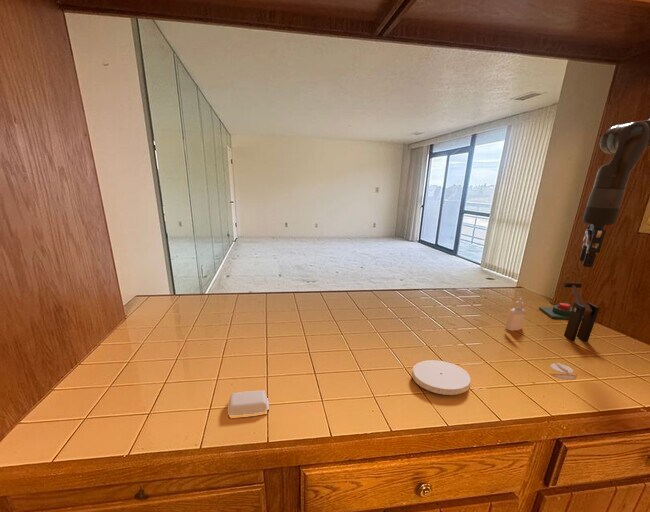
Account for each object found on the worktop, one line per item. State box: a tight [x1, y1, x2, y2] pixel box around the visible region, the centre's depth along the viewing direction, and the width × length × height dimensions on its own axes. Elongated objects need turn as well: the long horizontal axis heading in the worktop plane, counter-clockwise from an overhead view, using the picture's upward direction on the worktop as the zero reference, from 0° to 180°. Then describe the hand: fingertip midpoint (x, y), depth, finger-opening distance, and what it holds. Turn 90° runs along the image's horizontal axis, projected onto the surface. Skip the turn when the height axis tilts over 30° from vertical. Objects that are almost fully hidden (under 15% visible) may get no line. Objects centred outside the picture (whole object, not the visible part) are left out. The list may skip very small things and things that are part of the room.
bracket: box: [563, 301, 600, 343], centre depth 109 cm, size 10×8×13 cm
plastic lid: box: [411, 359, 472, 396], centre depth 88 cm, size 14×14×2 cm
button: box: [558, 302, 571, 310], centre depth 130 cm, size 4×4×2 cm
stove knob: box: [549, 362, 578, 381], centre depth 93 cm, size 7×7×2 cm
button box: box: [538, 304, 583, 321], centre depth 131 cm, size 12×10×4 cm
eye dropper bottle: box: [504, 297, 527, 334], centre depth 116 cm, size 4×6×12 cm
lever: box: [562, 282, 592, 316], centre depth 111 cm, size 13×5×2 cm, turn 175°
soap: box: [227, 389, 270, 416], centre depth 76 cm, size 9×7×3 cm
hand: (585, 263), depth 101 cm, fingers open, 8 cm apart
